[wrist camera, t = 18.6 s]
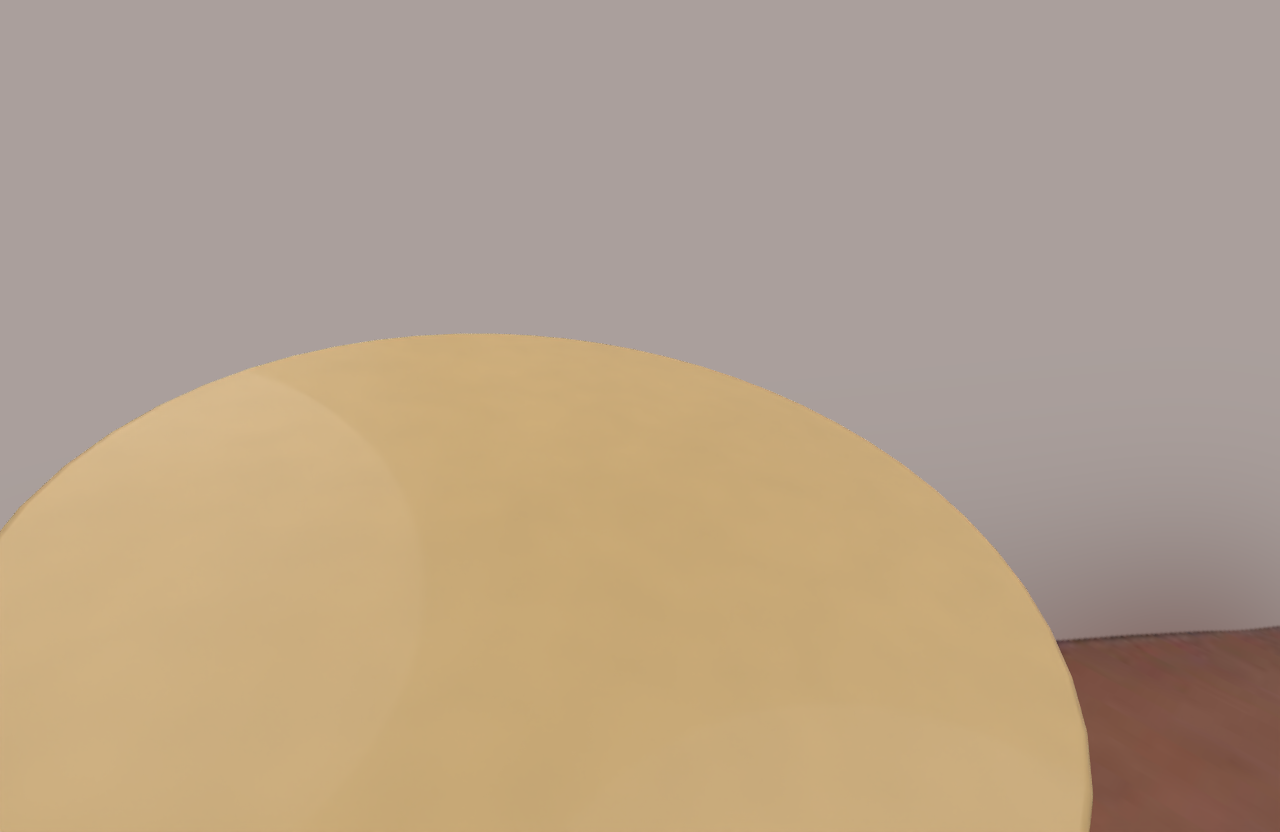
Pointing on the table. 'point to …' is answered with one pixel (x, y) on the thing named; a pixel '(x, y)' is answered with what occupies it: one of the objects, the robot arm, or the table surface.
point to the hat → (516, 614)
